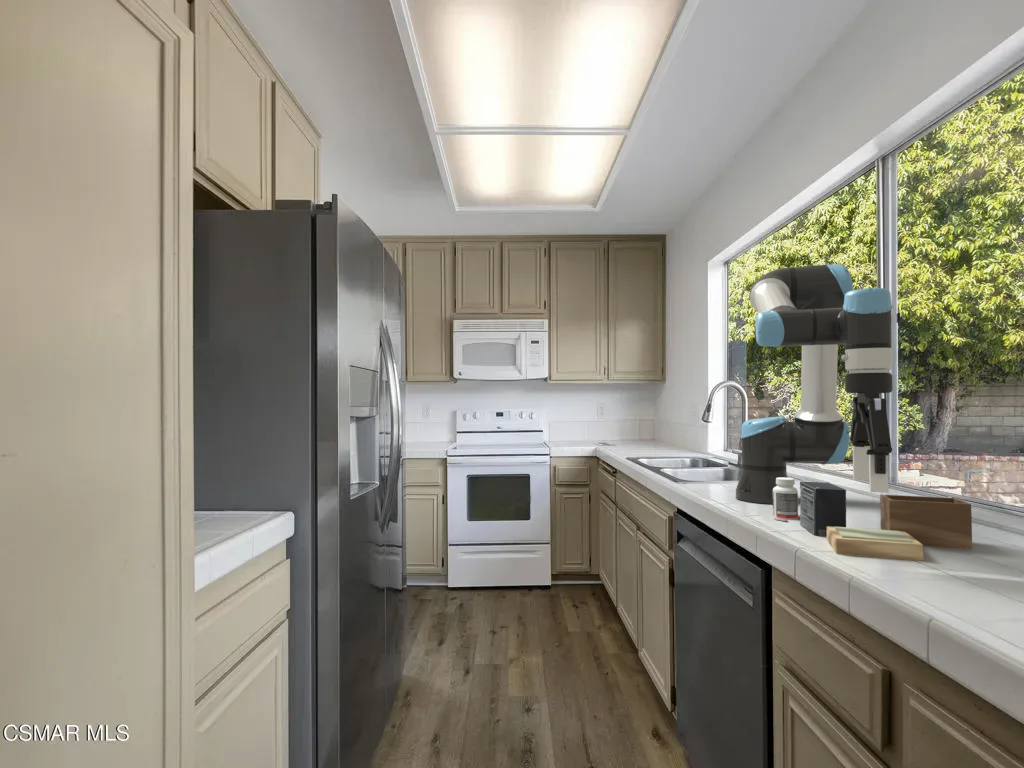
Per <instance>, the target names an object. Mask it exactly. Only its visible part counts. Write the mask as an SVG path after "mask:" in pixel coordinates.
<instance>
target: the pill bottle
mask: <svg viewBox="0 0 1024 768" xmlns="http://www.w3.org/2000/svg"><path fill="white" fill-rule="evenodd" d="M776 484H777V486H776V487H774V488H773V504H772V516H773V519H774V520H776V521H781V522H788V520H797V519H799V492H798V489H797V488H796V487H794V486H795V485H796V483H795V478H793V477H788V478H785V477H779V478H776Z"/></svg>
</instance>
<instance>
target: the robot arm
mask: <svg viewBox="0 0 1024 768" xmlns="http://www.w3.org/2000/svg"><path fill="white" fill-rule="evenodd" d="M749 302H750V305H751V307H752V309H754V310H755V311H756V312H757V314H756V317H755V339H756V344H757V345H758V346H760V347H772V348H778V347H798V346H799V347H800V346H801V366H800V367H801V370H800V371H801V373H800V374H801V375H800V376H801V378H800V379H801V380H800V381H801V382H800V387H801V388H800V409H799V410H798V411H797V412H796V413H795V414H794V420H793V421H787V418H786V416H771V417H760V418H755V419H753V418H752V419H748V420H745V421H744V422H743V423H742V424H741V435H740V439H741V473H740V476H739V478H738V482H737V485H736V488H735V499H737V500H740V501H745V502H748V503H757V504H767V505H768V504H769V505H770V504H771V505H773V488H774V487H776V486H777V484H776V478H779V477H785V478H789V476H788V472H787V464H817V465H823V466H824V465H836V464H837V465H839V464H841V463H842V462H843V461H844V460H845V458H846V456H847V454H848V451H849V446H850V443H851V444H852V475H853V476H852V479H853V480H854V481H869V492H870V493H881V494H882V493H883V494H884V493H885V494H888V493H890V492H889V491H890V490H889V454H892V452H893V448H892V441H891V434H890V427H889V421H888V413H887V400H886V398H881V397H880V394H889V393H892V391H893V374H892V372H889V371H891V370H892V369H893V348H892V346H893V345H892V340H893V339H892V338H893V337H892V333H893V332H892V327H893V325H892V321H893V319H892V309H893V304H892V298H891V291H889V289H888V288H882V287H868V288H859V289H854V284H853V280H852V275H851V274H850V271H849V269H848V267H846V266H845V265H843V264H826V263H825V264H821V265H820V264H819V265H818V264H817V265H807V266H806V265H805V266H796V267H795V266H794V267H781V268H777V269H774V270H771V271H769V272H767V273H765V274H763V275H762V276H761V277H759V278H758V279H757V280H755V281H754V282H753V284H752V286H751V287H750V290H749ZM839 345H842V346H844V353H845V354H842V355H841V356H840V357H841V360H843V361H845V362H844V369H845V371H848V373H846V374H845V375H844V391H845V392H846V393H847V394H857V395H858V396H853V399H852V403H853V404H852V417H851V418H852V419H851V425H850V426H851V427H850V426H849V424H848V423H847V422H846V421H843V415H842V414H841V413H840V412H838V411H837V396H838V395H837V394H838V392H837V390H838V389H837V387H838V356H839V355H838V351H839V348H838V347H839Z"/></svg>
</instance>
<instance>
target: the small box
mask: <svg viewBox="0 0 1024 768" xmlns="http://www.w3.org/2000/svg"><path fill="white" fill-rule="evenodd" d="M799 489H800V491H799V495H800V499H799V501H800V509H799V510H800V513H799V515H800V518H799V520H800V522H799V526H801V527H802V528H803V529H805V530H806V531H807V532H809V533H810V534H811V535H813V536H815V537H827V526H830V527H847V489H846V488H845V489H844V488H843V487H841V486H838V485H835V484H832V483H830V482H818V481H806V480H805V481H803V480H801V481H799Z"/></svg>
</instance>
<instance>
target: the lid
mask: <svg viewBox="0 0 1024 768" xmlns="http://www.w3.org/2000/svg"><path fill="white" fill-rule="evenodd" d="M826 541H827V542H828V544H829V546H830V548H832V550H833V551H834V552H835V554H836V555H843V556H844V555H846V556H847V555H848V556H859V557H872V558H881V559H884V558H885V559H896V560H906V561H907V560H908V561H918V562H923V561H924V546H923V545H922V544H921V543H920V542H918V541H917V540H916V539H914V538H913V537H912V536H910V535H909V534H908V533H906V532H905V531H894V530H881V529H879V528H875V529H874V528H864V527H862V528H861V527H848V526H846V527H830V526H827V536H826Z"/></svg>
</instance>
